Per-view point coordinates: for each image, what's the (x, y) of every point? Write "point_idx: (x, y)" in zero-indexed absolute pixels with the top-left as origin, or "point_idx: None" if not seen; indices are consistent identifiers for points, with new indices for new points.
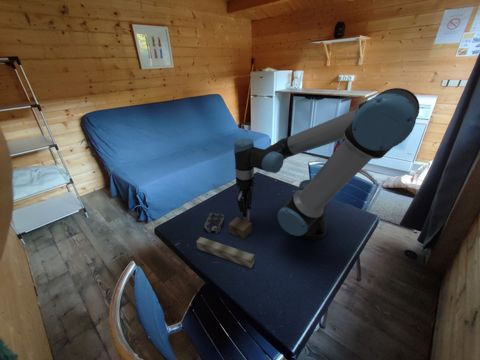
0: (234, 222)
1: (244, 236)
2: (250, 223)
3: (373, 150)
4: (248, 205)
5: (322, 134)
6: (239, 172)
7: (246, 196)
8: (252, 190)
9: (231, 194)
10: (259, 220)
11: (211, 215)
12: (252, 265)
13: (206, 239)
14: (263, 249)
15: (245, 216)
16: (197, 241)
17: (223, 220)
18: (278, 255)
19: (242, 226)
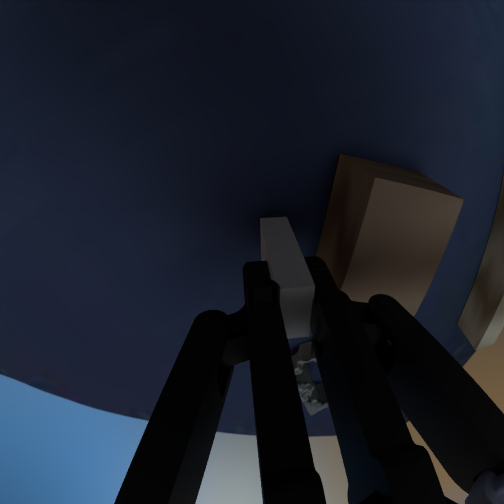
0: (396, 296)
1: (427, 178)
2: (383, 184)
3: None
4: (284, 333)
5: None
6: None
7: (439, 497)
8: (124, 494)
9: (93, 393)
10: (193, 152)
11: (314, 400)
12: None
13: (491, 325)
14: (446, 41)
15: (326, 265)
16: (494, 341)
17: (305, 345)
18: None
19: (426, 228)
